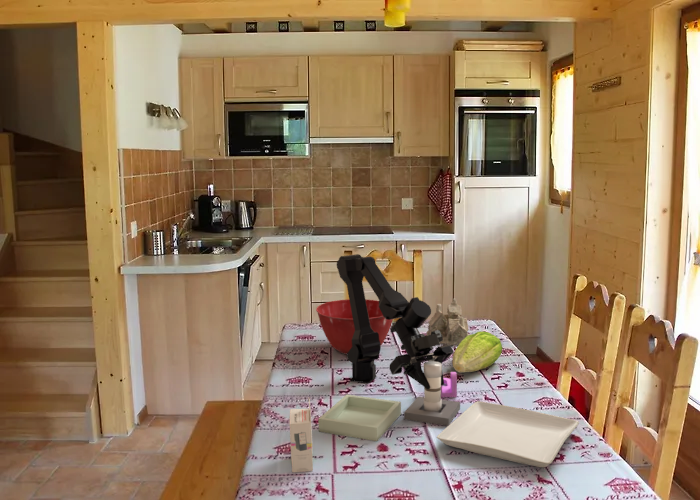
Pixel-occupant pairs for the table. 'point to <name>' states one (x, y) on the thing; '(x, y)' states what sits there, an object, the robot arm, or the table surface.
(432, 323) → the ceramic cottage
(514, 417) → the square plate
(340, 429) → the tray
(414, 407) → the fuse holder
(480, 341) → the lettuce
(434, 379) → the cream salt shaker
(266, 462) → the table surface
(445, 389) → the bracket
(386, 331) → the mixing bowl
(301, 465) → the ink box
